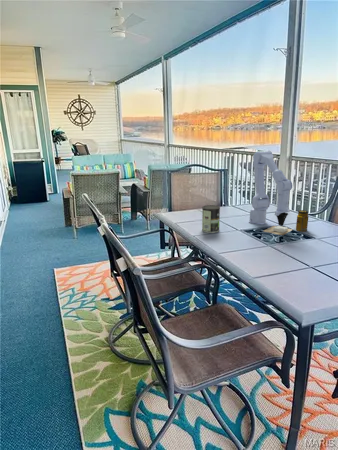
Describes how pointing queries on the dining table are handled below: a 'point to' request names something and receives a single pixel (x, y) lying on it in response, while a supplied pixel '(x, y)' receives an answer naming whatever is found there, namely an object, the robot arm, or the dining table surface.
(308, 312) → the dining table surface
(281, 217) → the robot arm
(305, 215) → the condiment
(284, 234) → the mat
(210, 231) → the coffee can
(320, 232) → the dining table surface
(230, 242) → the dining table surface
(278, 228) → the block
